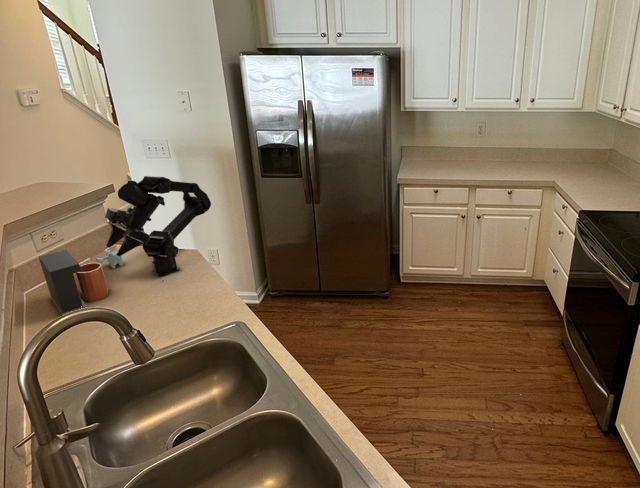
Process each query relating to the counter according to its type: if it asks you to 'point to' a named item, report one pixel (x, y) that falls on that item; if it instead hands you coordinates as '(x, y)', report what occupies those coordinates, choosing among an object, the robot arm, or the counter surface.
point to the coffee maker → (62, 280)
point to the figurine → (111, 258)
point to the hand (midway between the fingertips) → (112, 251)
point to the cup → (92, 281)
